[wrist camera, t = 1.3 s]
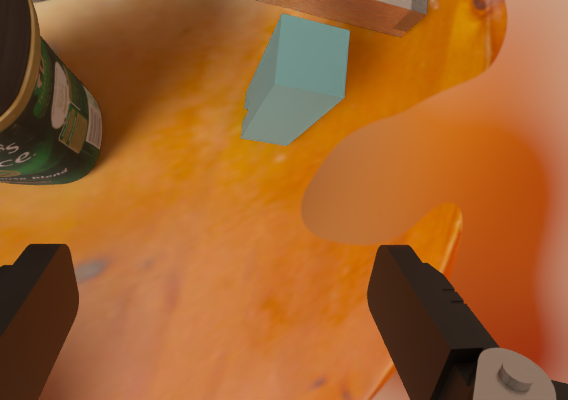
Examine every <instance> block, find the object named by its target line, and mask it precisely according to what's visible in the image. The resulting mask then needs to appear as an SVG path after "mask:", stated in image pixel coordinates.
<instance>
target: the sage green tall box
mask: <svg viewBox="0 0 568 400" xmlns="http://www.w3.org/2000/svg"><path fill="white" fill-rule="evenodd" d="M349 36H350V30H346V29H342V28H338V27H334V26H330V25H326V24H322V23H318V22H314V21H310V20H306V19H303V18H299V17H295V16H291V15H287V14H283V13H282V15H281V17H280V19H279V21H278V23H277V26H276V28H275V30H274V32H273V34H272V37H271V39H270V41H269V43H268V45H267V48H266V50H265V52H264V54H263V56H262V59H261V61H260V63H259V65H258V67H257V70H256V72H255V74H254V76H253V78H252V81H251V83H250V85H249V87H248V89H247V92H246V98H245V107H244V108H246V109H248V113H247V115H246V117H245V119H244V121H243V125H242V133H241V138H242V139H248V140H254V141H260V142H266V143H272V144H278V145H284V146H288V145H289V144H290V143H291V142H292V141H294V140H295V139H296V138H297V137H298V136H300V135H301V134H302V133H303V132H304V131H306V130H307V129H308V128H309V127H310V126H311V125H313V124H314V123H315V122H316V121H317V120H319V119H320V118H321V117H322V116H323V115H325V114H326V113H327V112H328V111H329V110H331V109H332V108H333V107H334V106H335V105H337V104H338V103H339V102H340V101H341V100H343V99H344V96H345V84H346V72H347V60H348V48H349Z"/></svg>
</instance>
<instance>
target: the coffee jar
mask: <svg viewBox="0 0 568 400" xmlns="http://www.w3.org/2000/svg"><path fill="white" fill-rule="evenodd" d="M101 140H102V118H101V112H100V109H99V106H98V104H97V102H96V100H95V99H94V97H93V96H92V95H91V93H90V92H89V91H88V90H87V88H86V87H85V86H84V85H83V84H82V83H81V82H80V81H79V80H78V78H77V77H76V76H75V75H74V74H73V73H72V72H71V71H70V70H69V69H68V68H67V67H66V66H65V64H64V63H63V62H62V61H61V60H60V59H59V58H58V56H57V55H56V54H55V53H54V52H53V50H52V49H51V48H50V47H49V45H48V44H47V43H46V42H45V41H44V40H43V38H42V37H41V36H40V29H39V23H38V19H37V14H36V11H35V8H34V5H33V2H32V0H0V182H2V183H10V184H25V185H54V184H66V183H71V182H74V181H77V180H79V179H81V178H83V177H84V176H85V175H87V174H88V173H89V172H90V171H91V169H92V168H93V167H94V165H95V163H96V161H97V158H98V155H99V151H100V146H101Z"/></svg>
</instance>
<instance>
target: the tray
mask: <svg viewBox="0 0 568 400" xmlns="http://www.w3.org/2000/svg"><path fill="white" fill-rule="evenodd" d="M257 1H261V2H265V3H269V4H273V5H277V6H281V7H285V8H288V9H292V10H296V11H300V12H304V13H308V14H312V15H316V16H320V17H323V18H327V19H331V20H335V21H339V22H343V23H347V24H351V25H355V26H359V27H362V28H366V29H370V30H374V31H378V32H382V33H386V34H390V35H394V36H397V37H402V36H403V35H404V34H405V33H406V32H407V31H409V30H410V29H411V28H412V27H413V26H414V25H415V24H416V23H417V22H419V21H420V20H421V19H422V18H423V17H424V16H425V15H426V14H427V0H257Z"/></svg>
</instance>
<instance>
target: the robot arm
mask: <svg viewBox="0 0 568 400" xmlns="http://www.w3.org/2000/svg"><path fill="white" fill-rule="evenodd" d="M367 299H368V306H369V309H370V312H371V314H372V316H373V318H374V321H375V323H376V325H377V327H378V329H379V332H380V334H381V336H382V338H383V340H384V343H385V345H386V347H387V349H388V351H389V354H390V356H391V358H392V360H393V363H394V365H395V367H396V369H397V371H398V374H399V376H400V378H401V380H402V382H403V385H404V387H405V389H406V391H407V393H408V396H409V398H410V400H568V384H566V383H562V382H557V381H553V380H550V379H549V377H548V376H547V375H546V374H545V372H544V371H543V370H542V369H541V368H540V367H538V366H537V365H536V364H535V363H534V362H532V361H531V360H529V359H528V358H526V357H524V356H523V355H520V354H518V353H516V352H513V351H511V350H507V349H503V348H500V347H499V346H498V345H497V343H496V342H495V341H494V339H493V338H492V337H491V336H490V334H489V333H488V332H487V330H486V329H485V328H484V327H483V325H482V324H481V323H480V321H479V320H478V319H477V318H476V316H475V315H474V314H473V312H472V311H471V310H470V308H469V307H468V306H467V304H464V302H463V299H462V298H461V297H460V296H459V294H458V293H457V292H455V291H454V288H453V286H452V285H451V284H450V282H449V281H448V280H447V279H446V277H445V276H444V275H443V274H442V273H440V272H439V271H438V270H436V269H435V268H434V267H432V266H431V265H430V264H428V263H422V261H421V260H420V259H419V257H418V256H417V255H416V253H415V252H414V250H413V249H412V248H411V247H410V246H409V245H381V246H380V247H379V248H378V250H377V254H376V258H375V262H374V266H373V270H372V273H371V277H370V281H369V285H368V291H367ZM78 305H79V293H78V287H77V282H76V277H75V273H74V268H73V263H72V258H71V253H70V249H69V247H68V246H67V245H66V244H30V245H28V246H27V247H26V249H25V250H24V251H23V252H22V254H21V255H20V256H19V258H18V259H17V260H16V261H15V263H14V264H13V265H3V266H2V267H0V400H38V398H39V396H40V394H41V392H42V389H43V387H44V385H45V383H46V381H47V379H48V376H49V374H50V372H51V370H52V368H53V365H54V363H55V361H56V359H57V357H58V355H59V352H60V350H61V348H62V346H63V344H64V342H65V339H66V337H67V335H68V333H69V331H70V329H71V326H72V324H73V322H74V320H75V318H76V315H77V311H78Z"/></svg>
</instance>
